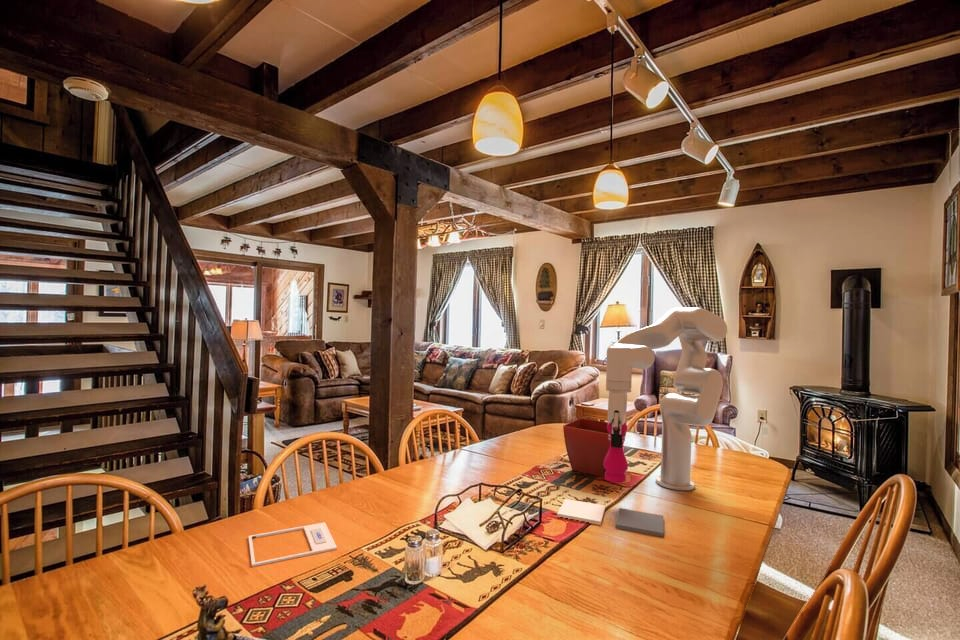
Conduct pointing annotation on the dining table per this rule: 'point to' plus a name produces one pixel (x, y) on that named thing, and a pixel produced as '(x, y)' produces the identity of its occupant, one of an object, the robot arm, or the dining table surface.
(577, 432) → the plant pot
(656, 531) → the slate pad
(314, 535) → the photo frame
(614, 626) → the dining table surface
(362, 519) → the dining table surface
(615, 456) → the pepper mill
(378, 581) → the dining table surface
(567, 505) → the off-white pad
